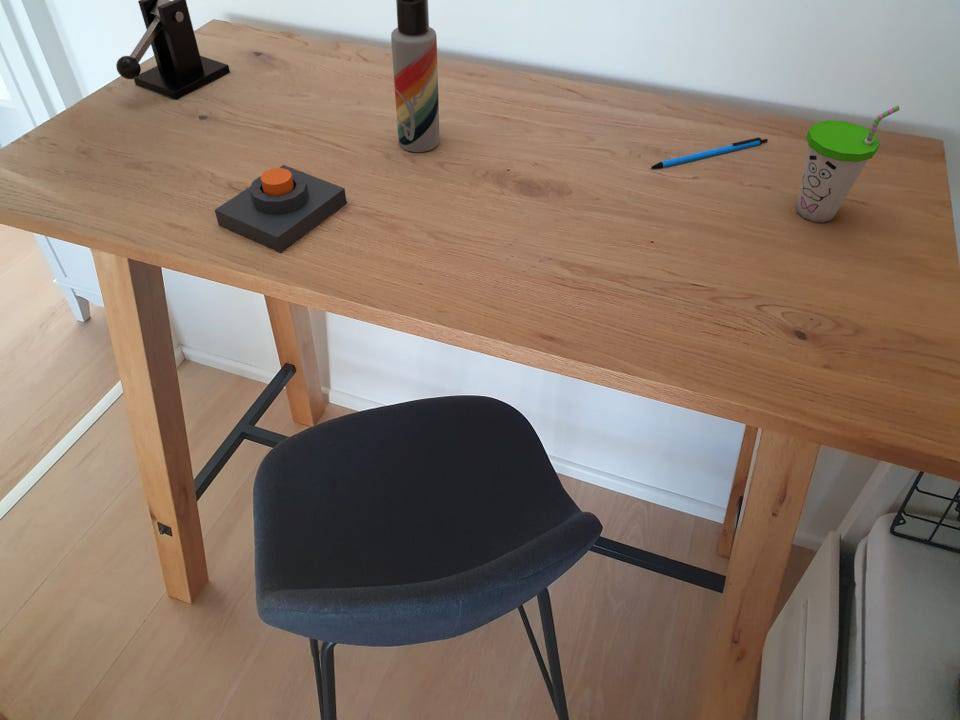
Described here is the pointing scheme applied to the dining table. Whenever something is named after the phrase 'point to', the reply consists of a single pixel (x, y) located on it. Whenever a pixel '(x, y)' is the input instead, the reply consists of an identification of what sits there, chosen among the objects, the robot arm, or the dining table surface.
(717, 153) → the pen
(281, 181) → the button
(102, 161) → the dining table surface
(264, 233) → the control block
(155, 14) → the switch
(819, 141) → the cup
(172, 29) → the switch bracket
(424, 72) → the lotion bottle
